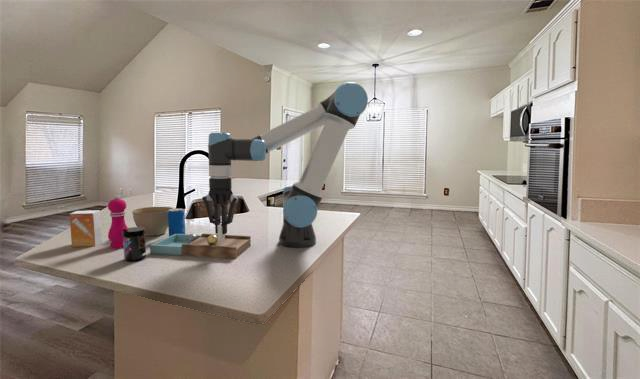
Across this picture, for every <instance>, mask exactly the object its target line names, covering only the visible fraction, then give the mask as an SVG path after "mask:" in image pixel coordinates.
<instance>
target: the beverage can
mask: <svg viewBox="0 0 640 379" xmlns="http://www.w3.org/2000/svg"><path fill="white" fill-rule="evenodd" d="M185 219H186V216H185V211H184V208H182V207H181V208H179V207H178V208H173V209H169V212H168V237H169V236H172V235H174V234H186V220H185Z"/></svg>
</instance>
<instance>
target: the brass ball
mask: <svg viewBox="0 0 640 379" xmlns="http://www.w3.org/2000/svg"><path fill="white" fill-rule="evenodd" d="M207 243H208V244H209V245H213V246H215V245H217V243H218V237H217V236H216V235H210V236H209V237H208V238H207Z"/></svg>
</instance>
